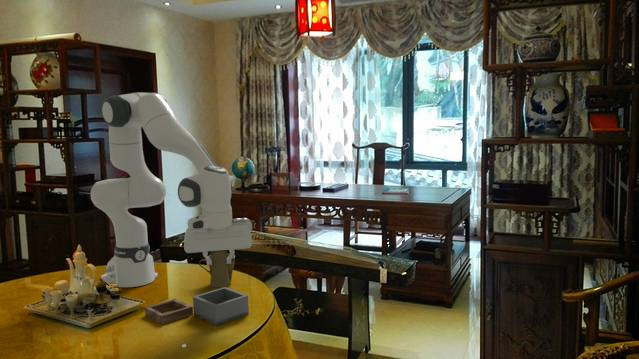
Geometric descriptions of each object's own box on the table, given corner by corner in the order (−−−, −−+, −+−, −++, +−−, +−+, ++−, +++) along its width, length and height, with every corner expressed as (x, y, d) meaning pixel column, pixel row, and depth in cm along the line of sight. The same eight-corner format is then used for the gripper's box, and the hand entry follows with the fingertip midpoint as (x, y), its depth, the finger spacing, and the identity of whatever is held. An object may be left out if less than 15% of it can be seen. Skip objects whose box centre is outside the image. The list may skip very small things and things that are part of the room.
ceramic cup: (235, 277, 196) (234, 252, 195) (236, 286, 186) (235, 259, 185) (200, 280, 194) (199, 254, 192) (199, 288, 184) (198, 261, 183)
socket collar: (145, 315, 160) (145, 307, 160) (175, 306, 168) (175, 298, 167) (162, 324, 153) (162, 316, 153) (192, 314, 160) (192, 306, 160)
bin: (193, 315, 160) (192, 296, 159) (225, 304, 168) (225, 286, 168) (216, 325, 151) (215, 306, 151) (248, 314, 160) (248, 295, 159)
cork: (232, 285, 157) (231, 250, 156) (212, 288, 155) (211, 252, 154) (227, 279, 163) (225, 245, 161) (208, 282, 160) (206, 248, 159)
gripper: (250, 215, 162) (251, 258, 164) (182, 220, 156) (184, 264, 158) (253, 219, 156) (254, 264, 158) (183, 224, 150) (185, 270, 152)
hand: (219, 264), depth 158 cm, fingers closed on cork, 4 cm apart
